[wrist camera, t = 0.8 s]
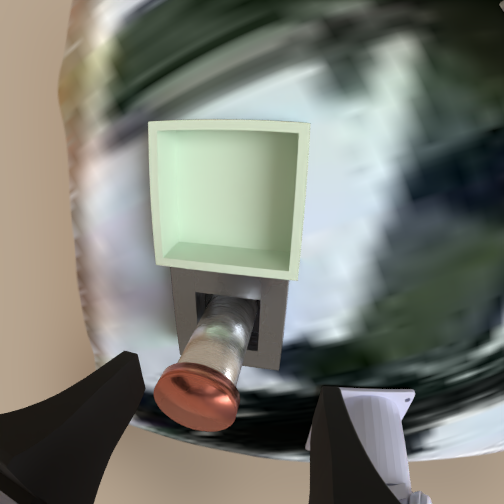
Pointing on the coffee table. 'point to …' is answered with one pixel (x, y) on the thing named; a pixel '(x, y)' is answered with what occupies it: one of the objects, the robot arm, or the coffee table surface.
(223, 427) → the lock pin
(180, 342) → the block
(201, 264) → the tray
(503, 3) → the small box
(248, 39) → the coffee table surface
